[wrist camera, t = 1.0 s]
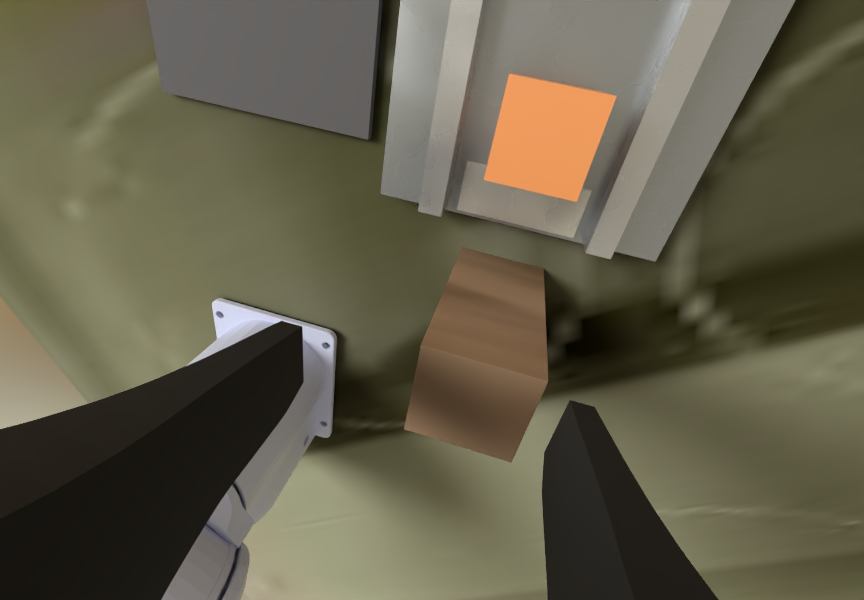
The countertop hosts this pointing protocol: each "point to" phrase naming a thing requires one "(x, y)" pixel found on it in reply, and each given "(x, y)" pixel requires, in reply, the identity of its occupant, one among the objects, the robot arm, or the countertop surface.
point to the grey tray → (584, 67)
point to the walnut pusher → (482, 357)
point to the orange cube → (547, 136)
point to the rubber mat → (273, 57)
